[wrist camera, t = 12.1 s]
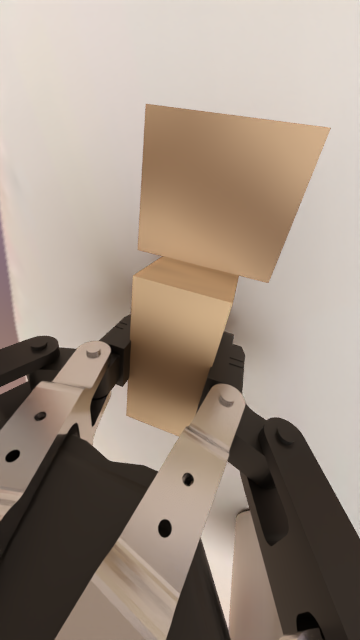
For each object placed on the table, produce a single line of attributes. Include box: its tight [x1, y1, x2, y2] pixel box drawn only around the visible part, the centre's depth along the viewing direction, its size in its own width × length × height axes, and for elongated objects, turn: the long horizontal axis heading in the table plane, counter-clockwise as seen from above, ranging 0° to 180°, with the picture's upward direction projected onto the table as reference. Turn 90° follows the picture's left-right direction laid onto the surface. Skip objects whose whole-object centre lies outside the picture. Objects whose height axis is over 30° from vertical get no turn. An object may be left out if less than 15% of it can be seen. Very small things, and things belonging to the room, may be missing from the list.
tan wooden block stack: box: [126, 104, 331, 437], centre depth 10 cm, size 13×6×4 cm, turn 172°
